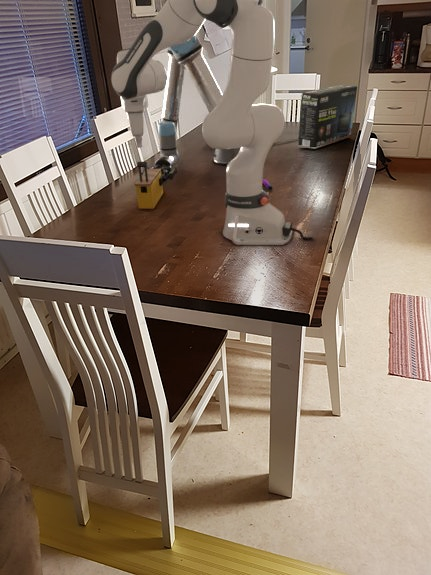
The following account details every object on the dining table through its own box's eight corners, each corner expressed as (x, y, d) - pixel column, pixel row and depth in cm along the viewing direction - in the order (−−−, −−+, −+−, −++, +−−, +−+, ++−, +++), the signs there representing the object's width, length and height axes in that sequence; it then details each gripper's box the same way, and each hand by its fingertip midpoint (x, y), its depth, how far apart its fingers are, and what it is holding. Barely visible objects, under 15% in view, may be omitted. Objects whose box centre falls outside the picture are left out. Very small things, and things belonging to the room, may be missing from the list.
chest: (153, 208, 171) (150, 185, 167) (138, 208, 172) (135, 185, 167) (163, 193, 186) (161, 171, 181) (149, 193, 186) (147, 171, 182)
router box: (314, 151, 231) (318, 94, 217) (296, 148, 237) (299, 92, 224) (352, 138, 251) (358, 85, 238) (335, 135, 258) (340, 83, 245)
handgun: (242, 177, 199) (242, 173, 198) (259, 175, 200) (259, 171, 199) (254, 192, 182) (254, 188, 181) (273, 190, 183) (273, 185, 182)
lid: (150, 186, 166) (147, 163, 162) (135, 186, 166) (132, 164, 162) (161, 171, 181) (159, 150, 177) (147, 171, 182) (144, 150, 178)
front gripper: (126, 98, 163) (131, 137, 170) (124, 107, 145) (130, 151, 152) (144, 96, 163) (148, 136, 170) (144, 106, 146) (149, 150, 153)
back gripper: (186, 173, 199) (176, 191, 180) (144, 173, 202) (130, 191, 182) (185, 156, 195) (174, 172, 176) (142, 156, 198) (127, 172, 178)
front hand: (139, 144), depth 161 cm, fingers open, 8 cm apart
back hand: (152, 182), depth 179 cm, fingers closed on chest, 6 cm apart
